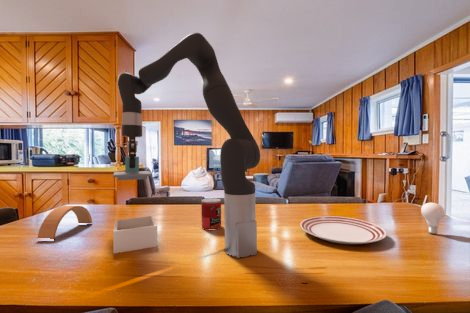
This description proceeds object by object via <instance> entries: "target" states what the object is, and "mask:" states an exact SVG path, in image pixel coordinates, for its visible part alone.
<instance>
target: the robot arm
mask: <svg viewBox="0 0 470 313" xmlns="http://www.w3.org/2000/svg"><path fill="white" fill-rule="evenodd" d="M217 58H218V57H217V54H216V52H215V49H214V48H213V46H212V44H210V42H209V41H208V40H207V38H206V37H204V35H203V34H201V33H200V32H192V33H190V34H188V35H186V36H185V37H184V38H182V39H181V40H180V41H179V42H177V43H176V44H175V45H174V46H173V47H171V48H170V49H169V50H168V51H166V52H165V53H164V54H163V55H161V56H160V57H159V58H157V59H155V60H154V61H152V62H150V63H148V64H146V65H144V66H143V67H141V68H140V69H139V70H138V76H137V75H134V74H132V73H129V72H123V73H121V74H120V75H119V77H118V79H117V87H118V91H119V95H120V99H121V102H122V116H121V136H122V137H124V138H125V137H126V138H128V140H127V141H126V146H127V153H128V156H127V157H129V168H135V159H136V157H137V153H138V143H139V142H138V140H136V139H137V138H142V136H143V116H142V115H143V114H142V109H143V108H142V101H141V100H140V99H138V98H137V97H136V95H141V94H144V93H146V92H147V90H148V89H150V87H152V85H155V84H157V83H158V82H160V81H163V80H164V79H166V78H167V77H168V76H169V74H171V72H172V70H173V68H174V66H175V65H176V64H177V63H178V62H180V61H182V60H186V59H188V61H190V63H192V64H193V65H194V66H195V67H196V69H197V70H198V73H199V75H200V76H201V79H202V96H203V99H204V102H205V104H206V106H207V109H208V111H209V114H210V115H211V116H212V117H213V118H214V119H215V121H216V122H217V123H218V124H219V125H220V126H221V127H222V128H223V129H224V130H225V131H226V132H227V133H228V136H229V137H230V138H227V139H226V140H224V142H222V143H223V144H222V145H221V149H220V154H219V156H220V157H219V160H220V175H221V177H220V178H221V183H222V186H223V189H224V190H223V196H224V198H223V199H224V200H223V201H224V203H223V204H224V205H223V206H224V208H223V209H224V210H223V214H224V216H223V217H224V252H225V254H227V255H228V254H229V256H231V255H232V256H231V257H235V256H236V257H235V258H237V259H240V257H242V258H246V257H250V255H251V256H255V255H257V254H258V230H257V229H258V228H257V226H258V224H257V221H256V218H257V217H256V216H257V215H256V184H255V182H253V181H252V180H251V181H250V180H249V179H248V178H247V177H246V176H247V175H246V170H251V169H255V168H256V167H257V166H258V165H259V163H260V162H261V152H260V151H261V150H260V147H259V145H258V143H257V140H255V138H254V136H253V134H252V133H251V131H250V129H249V127H248V125H247V124H246V122H245V120H244V118H243V115H242V113H241V111H240V109H239V107H238V105H237V102H236V99H235V97H234V95H233V93H232V90H231V88H230V86H229V84H228V82H227V80H226V78H225V76H224V75H223V73H222V71H221V69H220V66H219V63H218V59H217Z"/></svg>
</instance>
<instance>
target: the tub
mask: <svg viewBox="0 0 470 313" xmlns="http://www.w3.org/2000/svg"><path fill="white" fill-rule="evenodd" d="M123 228H131V229H124V230H122V229H123ZM112 232H113V233H112V235H113V237H112V238H113V239H112V240H113V254H118V253H119V252H120V253H123V252H131V251H137V250H142V249H143V250H144V249H149V248H154V247H158V225H157V222H156V220H155V218H154V216H153V215H147V216H138V217H129V218H121V219H115V221H114V226H113V231H112Z"/></svg>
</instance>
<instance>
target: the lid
mask: <svg viewBox="0 0 470 313" xmlns="http://www.w3.org/2000/svg"><path fill="white" fill-rule="evenodd" d="M124 158H125V164H124V168H125V171H114V172H113V174H112V178H117V180H118V181H134V180H136V181H137V180H148V177H153V173H151V171H150V170H140V156H136V159H135V168H129V157H128V156H125V157H124Z"/></svg>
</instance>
